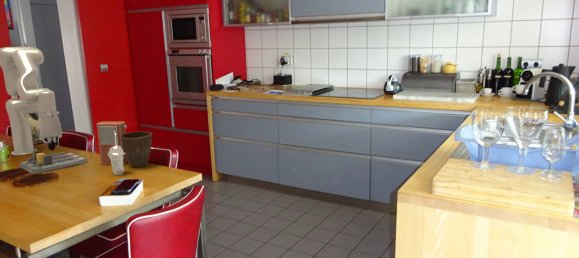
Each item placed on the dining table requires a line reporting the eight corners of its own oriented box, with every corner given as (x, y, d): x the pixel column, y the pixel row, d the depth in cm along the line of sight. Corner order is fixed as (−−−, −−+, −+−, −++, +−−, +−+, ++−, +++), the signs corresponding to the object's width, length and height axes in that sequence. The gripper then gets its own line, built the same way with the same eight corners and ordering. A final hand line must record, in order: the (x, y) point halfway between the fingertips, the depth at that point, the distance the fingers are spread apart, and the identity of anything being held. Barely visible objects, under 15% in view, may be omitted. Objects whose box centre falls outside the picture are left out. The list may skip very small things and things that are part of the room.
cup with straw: (106, 176, 205) (101, 134, 201) (114, 170, 214) (110, 130, 210) (123, 176, 204) (119, 134, 200) (131, 170, 213) (127, 130, 209)
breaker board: (19, 166, 224) (17, 153, 222) (71, 156, 242) (70, 143, 241) (33, 174, 209) (31, 160, 208) (88, 162, 228) (86, 150, 226)
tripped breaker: (34, 163, 221) (33, 154, 220) (45, 161, 225) (44, 152, 224) (37, 164, 218) (36, 155, 217) (48, 162, 222) (47, 153, 221)
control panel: (104, 161, 231) (131, 161, 229) (97, 164, 224) (125, 165, 223) (100, 121, 227) (127, 121, 225) (93, 123, 220) (121, 123, 218)
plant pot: (144, 170, 213) (142, 138, 210) (117, 169, 216) (114, 137, 213) (159, 162, 227) (157, 132, 224) (133, 160, 230) (130, 131, 227)
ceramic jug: (13, 145, 270) (6, 97, 264) (34, 140, 284) (27, 94, 278) (34, 147, 265) (28, 98, 259) (55, 141, 279) (49, 94, 273)
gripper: (61, 112, 229) (64, 145, 233) (29, 115, 218) (33, 151, 222) (66, 114, 224) (70, 148, 228) (34, 118, 213) (38, 154, 218)
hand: (52, 149), depth 225 cm, fingers closed
